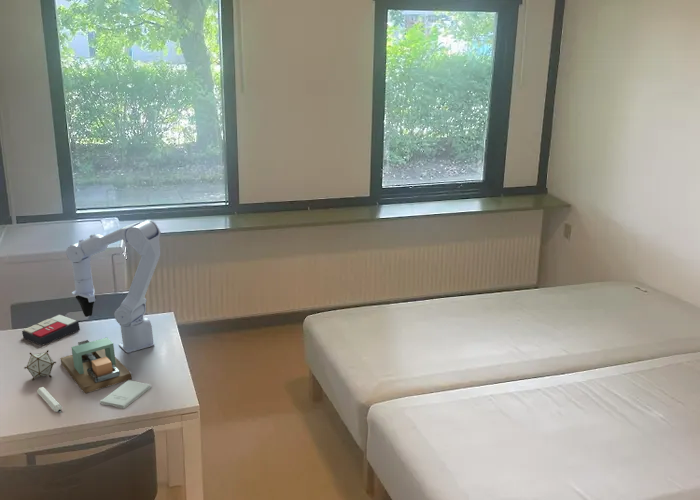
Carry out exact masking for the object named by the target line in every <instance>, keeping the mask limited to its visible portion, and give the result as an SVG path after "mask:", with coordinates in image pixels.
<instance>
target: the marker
mask: <svg viewBox="0 0 700 500" xmlns="http://www.w3.org/2000/svg"><path fill="white" fill-rule="evenodd" d="M36 393H37V394H38V395H39V396H40V397H41V398H42V400H43V401H45V402H46V404H47V405H48V406H49V407H50V408H51V410H52V411H54V412H56V413H59V414H61V413H62V408H63V406H62V405H61V404H60V403H59V401H57V399H55V397H53V395H52V394H51V393H50V392H49V391H48V390H47V389H46V388H45V387H44V386H42V387H39V388H38V389H37V392H36Z"/></svg>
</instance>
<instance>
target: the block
mask: <svg viewBox="0 0 700 500" xmlns="http://www.w3.org/2000/svg"><path fill="white" fill-rule="evenodd" d="M92 369H93V373H94V374H95V375H96V376H100V375H103V374H107V373H110V372H113V369H112V362H111V361H110V360H109V359H108V358H107V357H103V358H100V359H96V360H93V361H92Z"/></svg>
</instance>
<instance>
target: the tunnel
mask: <svg viewBox="0 0 700 500" xmlns="http://www.w3.org/2000/svg"><path fill="white" fill-rule="evenodd" d="M103 349H105V355H106V357H107V358H108V359H109V360H110V361H111V362H112V363H113V364H116V361H115V357H116V354H115V347H114V342H113V341H112V340H111V339H110V338H109V337H103V338H100V339H96V340H93V341H89V342H88V343H85V344H81V345H78V344H77V345H74V346H71V355H73V361H74V368H75V369H76V370H77V371H78V373H79V374H83V373H84V370H83V363H82V356H81V355H85V354H88V353H92V352H95V351H99V350H103Z"/></svg>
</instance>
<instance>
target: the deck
mask: <svg viewBox="0 0 700 500" xmlns="http://www.w3.org/2000/svg"><path fill="white" fill-rule="evenodd" d="M92 354H93V356H94V357H95V358H96V359H100V358H103V357H106V355H105V349H103V350H99V351H95V352H92ZM115 361H116V364H114V366H115V367H116V368H117V369H118V370H119V371H120V376H117V377H113V378H110V379H107V380H104V381H100V382H97V383H95V382H94V381H93V379H92V378H91V377H90V376H89V375H88V373H87V369H89V368H92V364H91V363H90V362H89V361H88V360H87V359H86V357H85V356H82V363H83V370H84V373H83V374H79V373H78V371H77V370H76V369H75V368H74V361H73V355H72V354H70V355H66V356H63V357H60V364H61V365H62V367H63V368H64V369H65V370H66V372H67V373H68V374H69V376H70V377H71V378H72V379H73V381H74V382H75V383H76V385H77V386H78V387H79V388H80V390H81V391H82V392H83V393H84V394H88V393H91V392H94V391H97V390H100V389H104V388H107V387H110V386H113V385H117V384H120V383H125V382H126V381H128V380H130V381H131V380H132V379H133V377H132V372H131V371H130V370H129V369H128V368H127V367H126V366H125V365H124V364H123V363H122V361H120V360H119V359H118V358H117V357H116V356H115Z"/></svg>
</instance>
